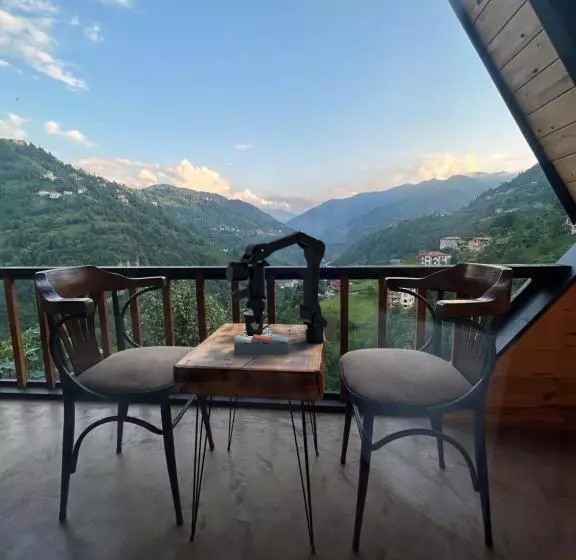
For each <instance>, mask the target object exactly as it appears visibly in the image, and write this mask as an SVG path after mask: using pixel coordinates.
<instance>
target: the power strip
mask: <svg viewBox="0 0 576 560" xmlns="http://www.w3.org/2000/svg"><path fill="white" fill-rule="evenodd" d="M269 337H270V343H268V342H262V341H257V340H253V338H252V341H251V343H247V342H241V341H235V340H234V341H235V342H234V344H233V346H234V347H233V353H234V357H235V356H236V357H237V356H272V355H273V356H274V355H276V356H277V355H278V356H279V355H289V341H288V342H284V341H278V340H272V339H271V336H269Z"/></svg>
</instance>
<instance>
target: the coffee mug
mask: <svg viewBox="0 0 576 560" xmlns="http://www.w3.org/2000/svg"><path fill="white" fill-rule="evenodd" d="M267 317H270V318H271V321H270V323H268V324H267V325H265V326H264V321H265V319H266V318H267ZM243 319H244V325H245V332H246V336H247V335H248V336H254V334H255V335H261V334H262V333H264V332H263V331H264V330H265V329H266V328H268V327H269V326H271V324H272V323H273V322H274V317H273V315H272V314H266V315H265V311H264V312H263V314H262V317H261V320H260V323H259V324H256V322H255V318H254V314H253V310H249V311H244V312H243ZM262 335H263V334H262Z"/></svg>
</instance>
